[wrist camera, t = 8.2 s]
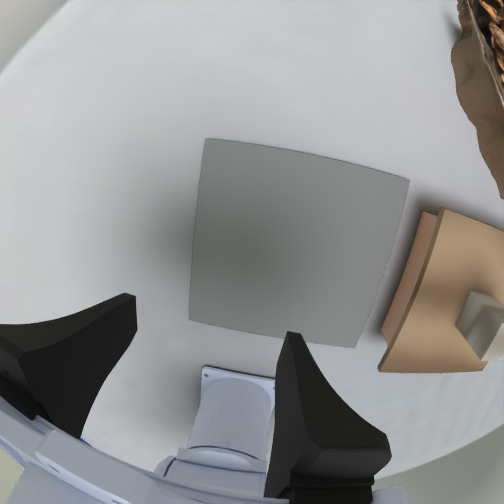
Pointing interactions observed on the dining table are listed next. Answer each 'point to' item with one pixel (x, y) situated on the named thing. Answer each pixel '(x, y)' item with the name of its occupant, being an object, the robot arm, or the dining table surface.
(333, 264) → the mat
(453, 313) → the lid
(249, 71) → the dining table surface
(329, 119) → the dining table surface
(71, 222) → the dining table surface
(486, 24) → the food dish
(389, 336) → the pink shallow tray
